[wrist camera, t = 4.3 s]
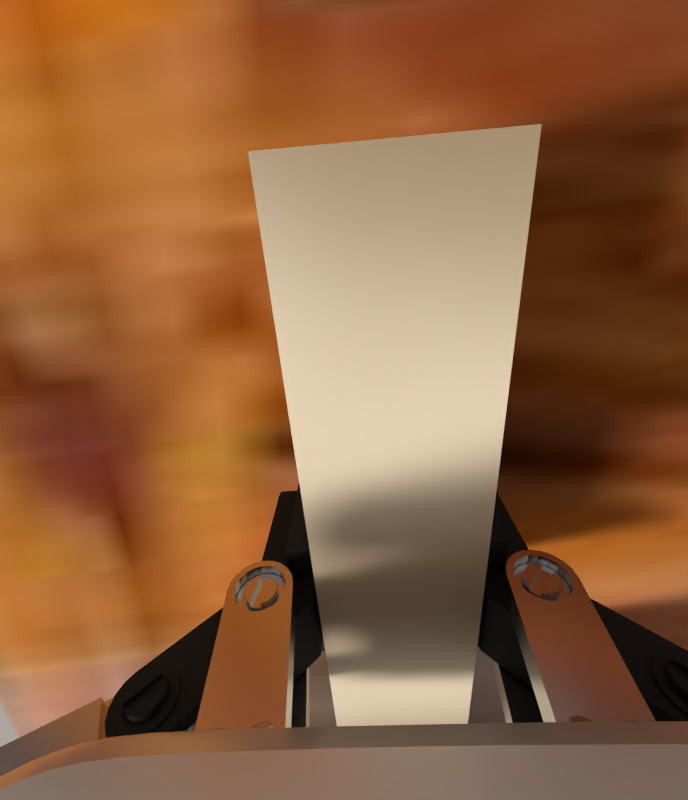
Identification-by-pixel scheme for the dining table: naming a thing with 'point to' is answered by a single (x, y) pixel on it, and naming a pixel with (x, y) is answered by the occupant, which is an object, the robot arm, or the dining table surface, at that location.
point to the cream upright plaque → (398, 401)
